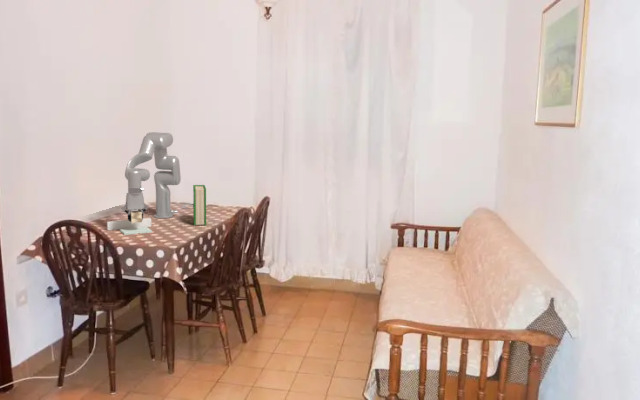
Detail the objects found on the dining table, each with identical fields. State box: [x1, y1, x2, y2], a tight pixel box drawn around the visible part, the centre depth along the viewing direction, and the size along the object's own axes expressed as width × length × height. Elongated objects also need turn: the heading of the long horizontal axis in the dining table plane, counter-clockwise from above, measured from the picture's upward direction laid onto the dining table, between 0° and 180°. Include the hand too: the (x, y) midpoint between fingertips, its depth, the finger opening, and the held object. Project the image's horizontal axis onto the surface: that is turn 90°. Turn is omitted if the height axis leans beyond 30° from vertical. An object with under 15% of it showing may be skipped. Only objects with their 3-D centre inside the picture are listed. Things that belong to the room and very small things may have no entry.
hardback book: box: [192, 184, 207, 226], centre depth 352 cm, size 18×7×24 cm, turn 15°
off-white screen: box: [106, 217, 152, 231], centre depth 333 cm, size 26×2×5 cm, turn 123°
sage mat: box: [119, 227, 153, 236], centre depth 325 cm, size 16×12×1 cm
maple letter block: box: [130, 211, 142, 223], centre depth 323 cm, size 6×6×6 cm
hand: (135, 220), depth 323 cm, fingers closed on maple letter block, 6 cm apart
